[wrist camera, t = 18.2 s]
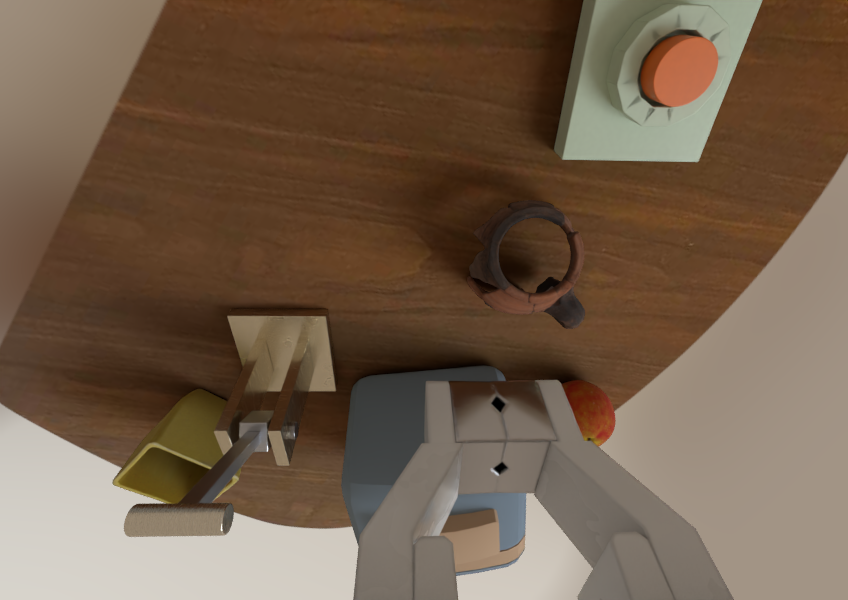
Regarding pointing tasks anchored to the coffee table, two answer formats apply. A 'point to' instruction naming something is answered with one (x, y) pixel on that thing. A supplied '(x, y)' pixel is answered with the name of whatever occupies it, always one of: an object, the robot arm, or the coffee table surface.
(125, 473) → the flower pot
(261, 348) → the bracket
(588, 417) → the fruit
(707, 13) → the button block
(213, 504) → the lever
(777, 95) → the coffee table surface
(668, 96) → the button
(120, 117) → the coffee table surface
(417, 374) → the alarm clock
